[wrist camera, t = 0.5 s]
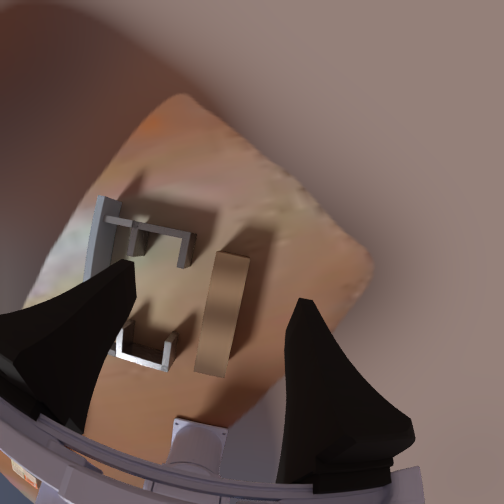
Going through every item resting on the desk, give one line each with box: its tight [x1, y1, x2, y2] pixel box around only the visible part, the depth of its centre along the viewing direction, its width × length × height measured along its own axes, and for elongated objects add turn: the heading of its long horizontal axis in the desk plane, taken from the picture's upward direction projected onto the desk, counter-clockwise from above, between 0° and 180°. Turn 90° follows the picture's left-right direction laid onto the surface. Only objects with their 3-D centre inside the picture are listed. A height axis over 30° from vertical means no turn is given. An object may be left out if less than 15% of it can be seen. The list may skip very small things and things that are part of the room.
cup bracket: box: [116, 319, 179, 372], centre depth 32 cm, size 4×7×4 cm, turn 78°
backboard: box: [83, 195, 133, 357], centre depth 31 cm, size 21×5×5 cm, turn 168°
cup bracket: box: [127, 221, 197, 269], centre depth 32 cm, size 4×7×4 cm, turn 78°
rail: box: [194, 251, 250, 378], centre depth 32 cm, size 14×4×5 cm, turn 168°
